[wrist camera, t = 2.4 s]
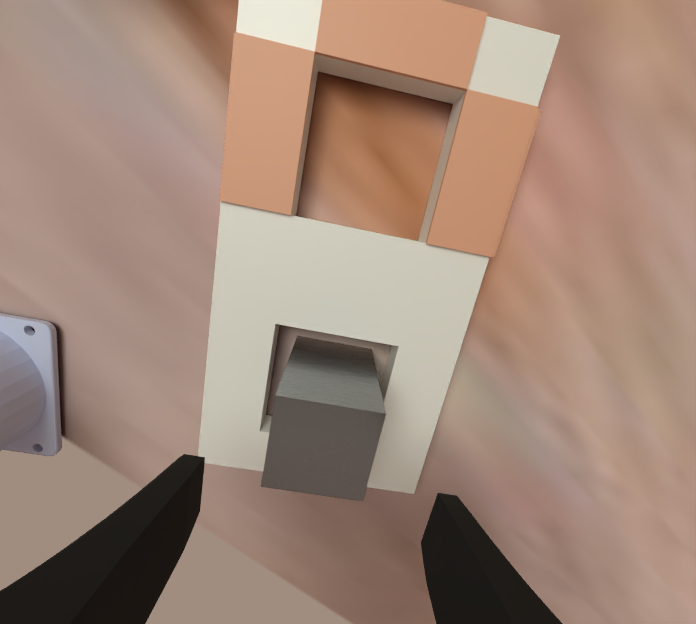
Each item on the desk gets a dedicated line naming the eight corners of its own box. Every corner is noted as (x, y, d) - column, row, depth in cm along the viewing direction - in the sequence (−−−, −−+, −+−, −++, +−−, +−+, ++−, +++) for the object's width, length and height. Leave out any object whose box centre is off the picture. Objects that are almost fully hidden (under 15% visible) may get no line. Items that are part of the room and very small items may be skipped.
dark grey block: (286, 401, 18) (260, 486, 12) (297, 335, 17) (275, 395, 11) (356, 413, 18) (362, 501, 13) (371, 349, 17) (386, 413, 12)
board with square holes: (208, 443, 19) (195, 464, 17) (254, -19, 13) (241, -53, 11) (413, 474, 20) (420, 497, 18) (543, 56, 14) (570, 34, 12)
